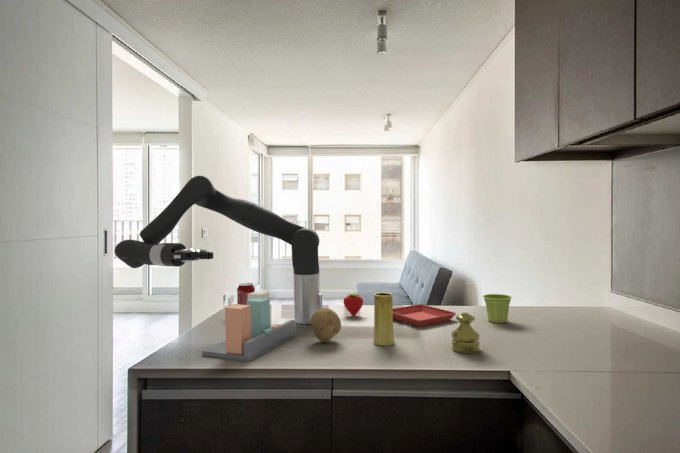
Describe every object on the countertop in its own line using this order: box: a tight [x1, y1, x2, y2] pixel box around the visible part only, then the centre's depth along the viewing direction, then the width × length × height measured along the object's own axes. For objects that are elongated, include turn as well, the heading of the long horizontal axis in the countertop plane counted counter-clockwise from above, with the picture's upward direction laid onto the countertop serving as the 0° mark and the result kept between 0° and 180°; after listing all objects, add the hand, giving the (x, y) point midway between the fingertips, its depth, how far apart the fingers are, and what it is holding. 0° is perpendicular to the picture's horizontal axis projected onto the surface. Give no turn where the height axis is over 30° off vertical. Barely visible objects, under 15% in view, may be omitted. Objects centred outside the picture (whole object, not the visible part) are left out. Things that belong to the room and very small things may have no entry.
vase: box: [373, 292, 395, 347], centre depth 117 cm, size 6×6×14 cm
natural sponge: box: [309, 307, 342, 343], centre depth 120 cm, size 9×9×10 cm
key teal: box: [246, 298, 271, 339], centre depth 117 cm, size 5×4×12 cm
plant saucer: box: [393, 303, 457, 328], centre depth 144 cm, size 18×18×3 cm
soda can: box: [236, 282, 256, 305], centre depth 157 cm, size 7×7×12 cm
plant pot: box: [482, 293, 513, 324], centre depth 139 cm, size 9×9×9 cm
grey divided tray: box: [202, 319, 296, 362], centre depth 118 cm, size 15×25×6 cm, turn 158°
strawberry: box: [342, 290, 364, 317], centre depth 152 cm, size 6×8×10 cm
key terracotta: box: [224, 304, 251, 354], centre depth 108 cm, size 5×4×12 cm
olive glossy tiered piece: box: [450, 312, 481, 355], centre depth 110 cm, size 7×7×10 cm
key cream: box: [248, 291, 270, 300], centre depth 128 cm, size 5×4×12 cm
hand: (211, 255), depth 123 cm, fingers closed
